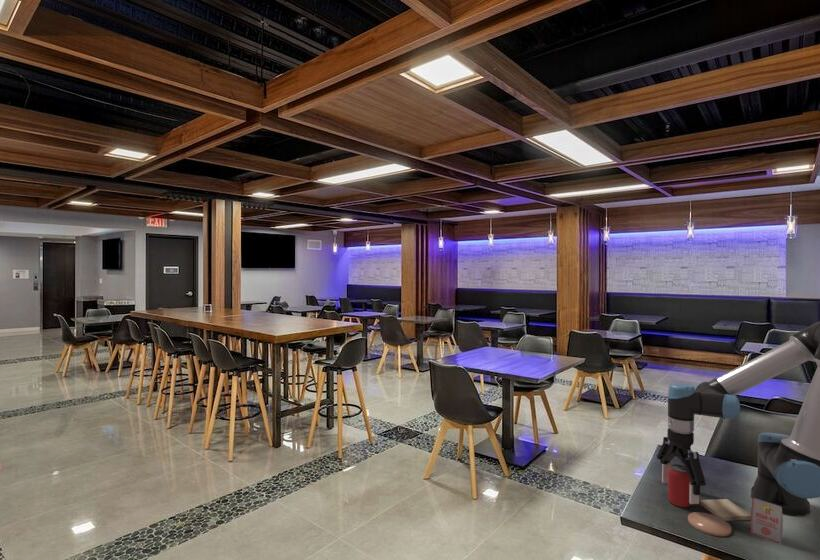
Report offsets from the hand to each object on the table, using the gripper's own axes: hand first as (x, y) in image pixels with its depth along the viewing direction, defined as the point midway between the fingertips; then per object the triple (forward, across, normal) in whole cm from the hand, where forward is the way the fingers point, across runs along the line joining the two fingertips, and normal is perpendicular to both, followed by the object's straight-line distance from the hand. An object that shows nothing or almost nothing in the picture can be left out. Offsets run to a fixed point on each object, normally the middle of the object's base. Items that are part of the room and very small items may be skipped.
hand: (679, 492), depth 145 cm
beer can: (+4, 0, 0) cm, 4 cm away
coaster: (+3, +13, 0) cm, 14 cm away
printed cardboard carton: (+4, +19, +13) cm, 23 cm away
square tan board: (+3, +6, +11) cm, 13 cm away
